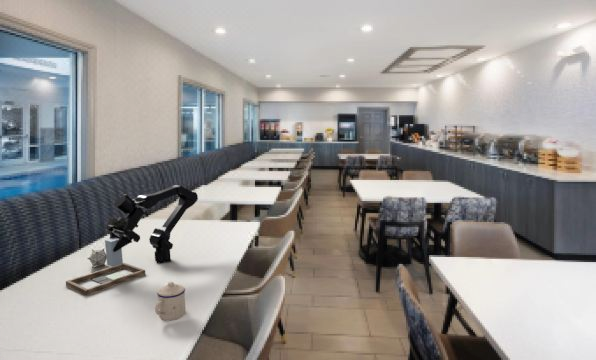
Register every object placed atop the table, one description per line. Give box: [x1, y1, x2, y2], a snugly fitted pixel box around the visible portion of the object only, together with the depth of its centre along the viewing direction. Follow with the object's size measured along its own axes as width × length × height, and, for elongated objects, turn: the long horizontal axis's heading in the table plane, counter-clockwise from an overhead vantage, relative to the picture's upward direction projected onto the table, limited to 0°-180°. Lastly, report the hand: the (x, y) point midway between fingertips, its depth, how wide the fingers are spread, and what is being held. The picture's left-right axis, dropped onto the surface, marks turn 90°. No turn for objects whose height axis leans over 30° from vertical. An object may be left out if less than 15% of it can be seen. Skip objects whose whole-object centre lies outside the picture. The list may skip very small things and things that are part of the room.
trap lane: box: [65, 262, 146, 296], centre depth 166 cm, size 26×16×2 cm, turn 144°
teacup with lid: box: [154, 281, 187, 321], centre depth 133 cm, size 12×9×12 cm
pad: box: [104, 271, 127, 280], centre depth 170 cm, size 6×7×1 cm
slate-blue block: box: [104, 238, 124, 267], centre depth 168 cm, size 4×4×11 cm
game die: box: [87, 248, 107, 268], centre depth 182 cm, size 9×8×10 cm
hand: (110, 250), depth 167 cm, fingers closed on slate-blue block, 4 cm apart
